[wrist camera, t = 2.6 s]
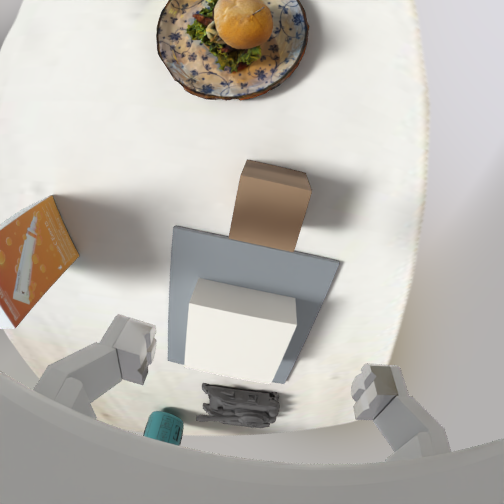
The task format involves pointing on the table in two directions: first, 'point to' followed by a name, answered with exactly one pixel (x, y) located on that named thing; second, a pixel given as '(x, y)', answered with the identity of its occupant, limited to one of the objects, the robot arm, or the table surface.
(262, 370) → the white plinth
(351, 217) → the table surface
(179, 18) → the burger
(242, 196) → the walnut block
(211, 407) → the tank toy
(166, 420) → the beverage bottle
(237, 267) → the plain slate board
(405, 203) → the table surface
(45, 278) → the small box
